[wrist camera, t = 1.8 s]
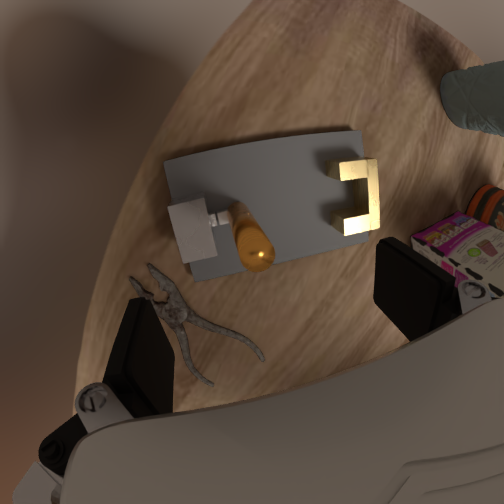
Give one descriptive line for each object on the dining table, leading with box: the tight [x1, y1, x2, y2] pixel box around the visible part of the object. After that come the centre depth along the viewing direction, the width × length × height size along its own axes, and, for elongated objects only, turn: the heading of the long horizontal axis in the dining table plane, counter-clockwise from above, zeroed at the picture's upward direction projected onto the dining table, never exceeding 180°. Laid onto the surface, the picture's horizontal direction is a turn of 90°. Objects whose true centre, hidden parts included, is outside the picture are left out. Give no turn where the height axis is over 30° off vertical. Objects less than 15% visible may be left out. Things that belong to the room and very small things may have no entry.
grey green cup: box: [440, 61, 504, 137], centre depth 19 cm, size 10×10×12 cm
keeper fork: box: [325, 156, 380, 236], centre depth 24 cm, size 4×7×3 cm, turn 10°
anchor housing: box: [167, 192, 218, 264], centre depth 23 cm, size 3×5×3 cm, turn 9°
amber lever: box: [208, 202, 275, 272], centre depth 20 cm, size 7×2×10 cm, turn 99°
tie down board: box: [163, 130, 368, 282], centre depth 26 cm, size 19×12×2 cm, turn 99°
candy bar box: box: [411, 211, 504, 298], centre depth 24 cm, size 11×5×16 cm, turn 109°
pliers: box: [129, 263, 265, 387], centre depth 31 cm, size 10×1×20 cm
